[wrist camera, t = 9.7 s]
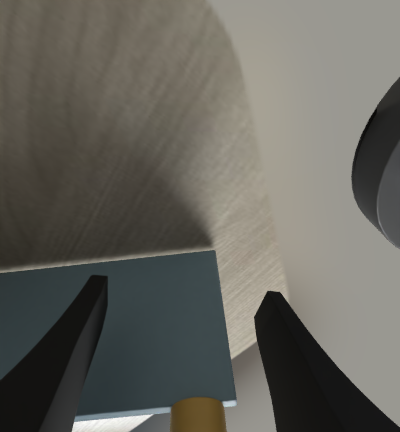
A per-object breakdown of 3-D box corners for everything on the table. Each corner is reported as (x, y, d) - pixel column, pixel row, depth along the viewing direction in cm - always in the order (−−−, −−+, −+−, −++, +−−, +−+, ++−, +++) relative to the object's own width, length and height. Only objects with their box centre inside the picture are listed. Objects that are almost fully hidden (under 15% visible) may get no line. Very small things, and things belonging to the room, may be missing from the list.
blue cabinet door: (216, 264, 17) (244, 467, 9) (-2, 287, 18) (-158, 506, 10) (214, 241, 16) (245, 450, 8) (-20, 266, 16) (-213, 494, 8)
